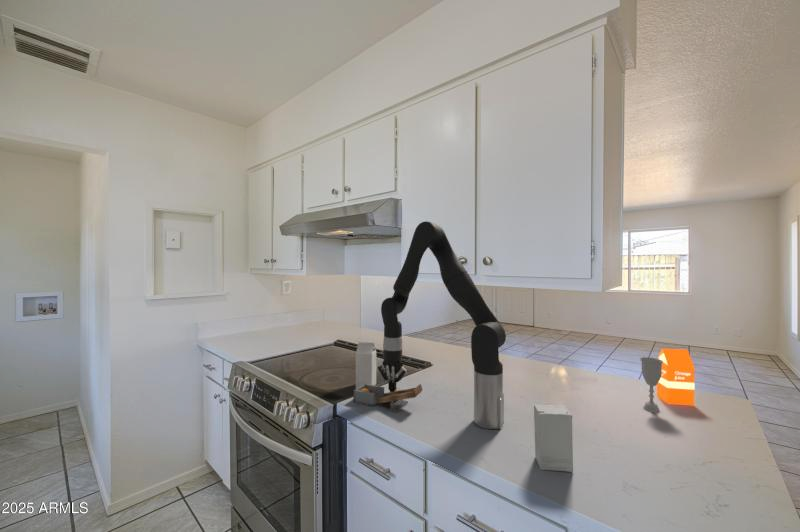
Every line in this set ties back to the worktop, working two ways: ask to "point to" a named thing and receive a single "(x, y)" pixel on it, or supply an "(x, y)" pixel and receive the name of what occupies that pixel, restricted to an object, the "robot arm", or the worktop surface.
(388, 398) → the lever
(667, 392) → the orange juice
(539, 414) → the skincare box
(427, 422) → the worktop surface
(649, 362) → the chalice
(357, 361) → the milk carton
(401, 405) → the fulcrum
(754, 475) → the worktop surface
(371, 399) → the tray
